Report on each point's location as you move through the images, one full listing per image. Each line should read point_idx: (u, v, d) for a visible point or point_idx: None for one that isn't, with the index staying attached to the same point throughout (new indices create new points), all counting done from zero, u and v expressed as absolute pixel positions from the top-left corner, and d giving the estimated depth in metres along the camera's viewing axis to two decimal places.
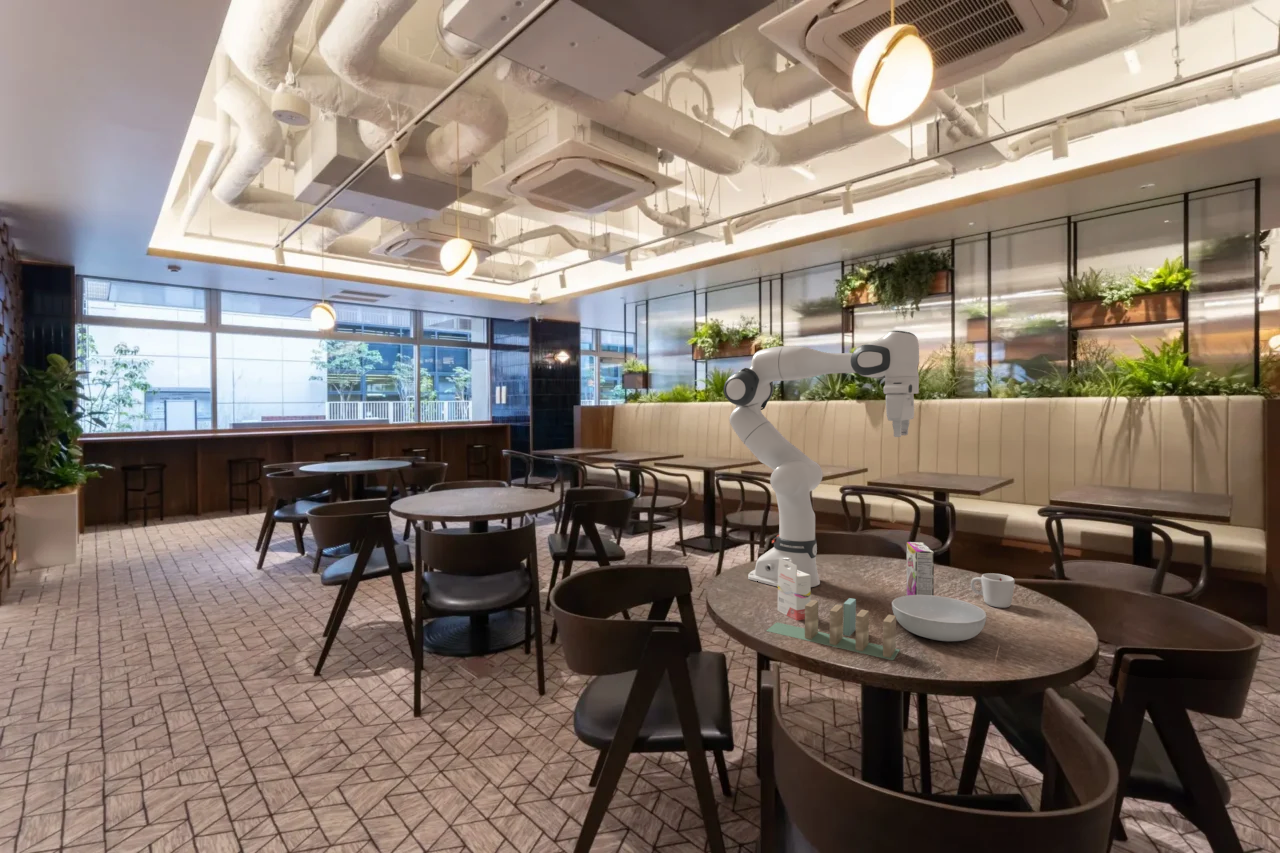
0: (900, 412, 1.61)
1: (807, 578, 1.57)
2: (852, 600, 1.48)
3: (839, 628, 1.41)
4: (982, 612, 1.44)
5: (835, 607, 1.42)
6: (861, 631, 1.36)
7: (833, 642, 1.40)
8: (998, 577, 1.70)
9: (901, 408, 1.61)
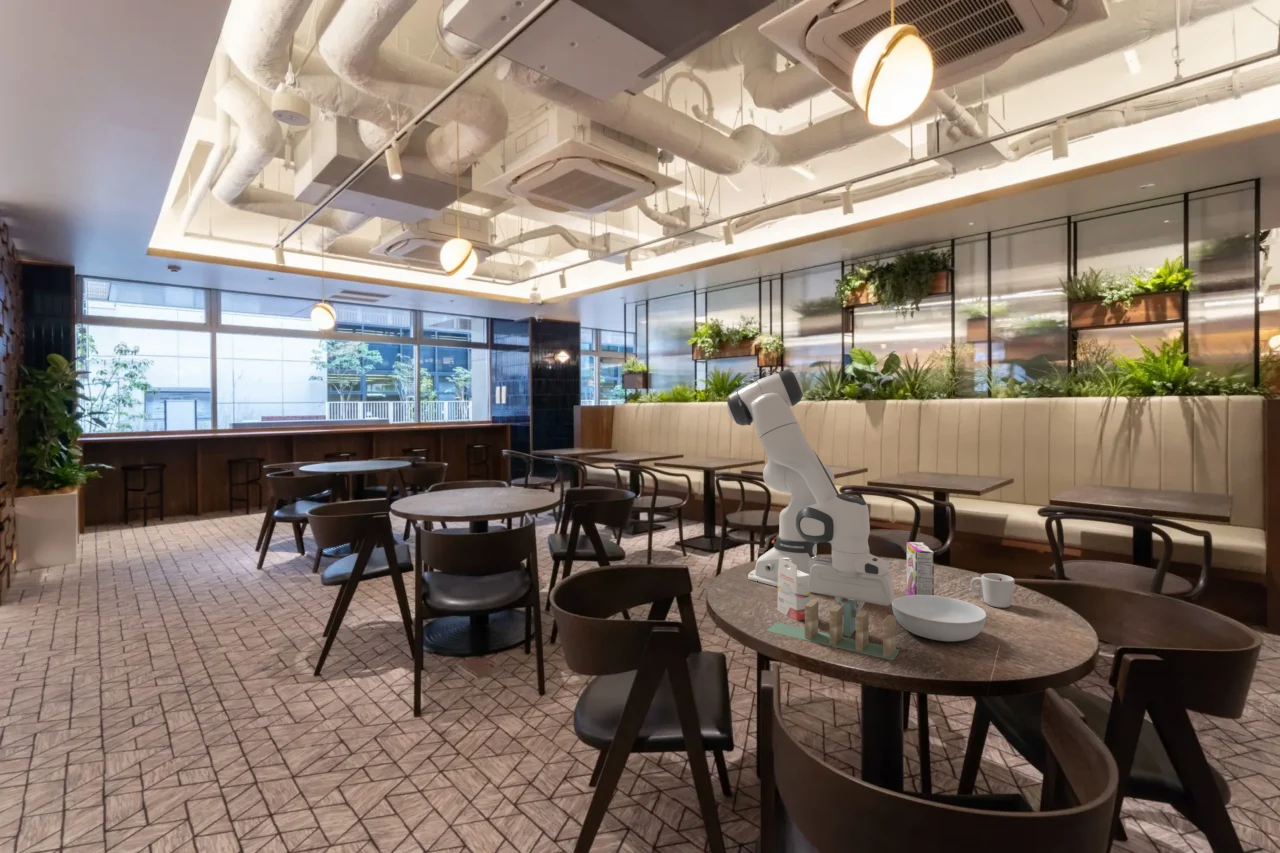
0: None
1: (807, 578, 1.57)
2: (852, 600, 1.48)
3: (839, 628, 1.41)
4: (982, 612, 1.44)
5: (835, 607, 1.42)
6: (861, 631, 1.36)
7: (833, 642, 1.40)
8: (998, 577, 1.70)
9: (893, 588, 1.43)
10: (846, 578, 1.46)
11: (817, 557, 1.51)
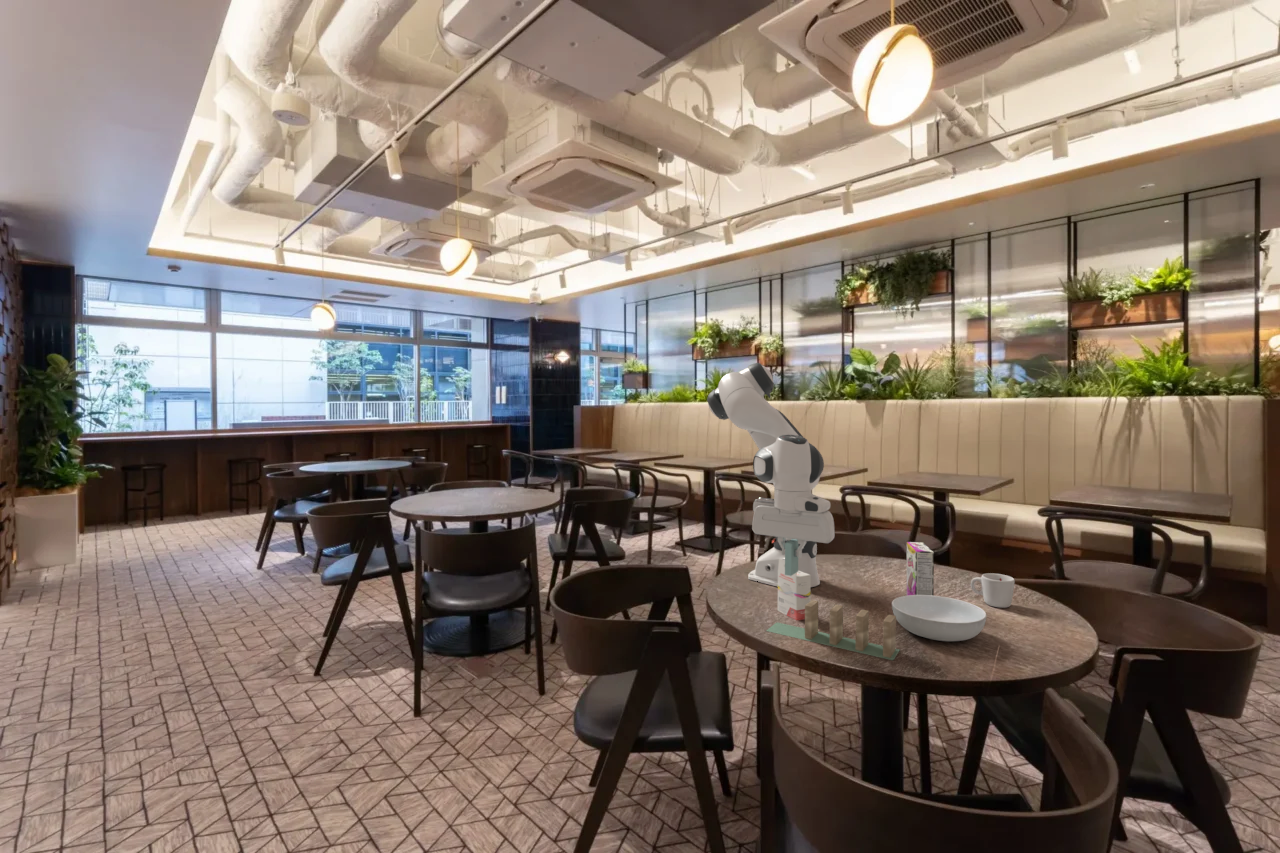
0: (834, 531, 1.44)
1: (807, 578, 1.57)
2: (794, 540, 1.49)
3: (839, 628, 1.41)
4: (982, 612, 1.44)
5: (835, 607, 1.42)
6: (861, 631, 1.36)
7: (833, 642, 1.40)
8: (998, 577, 1.70)
9: None
10: (788, 518, 1.47)
11: (761, 499, 1.52)
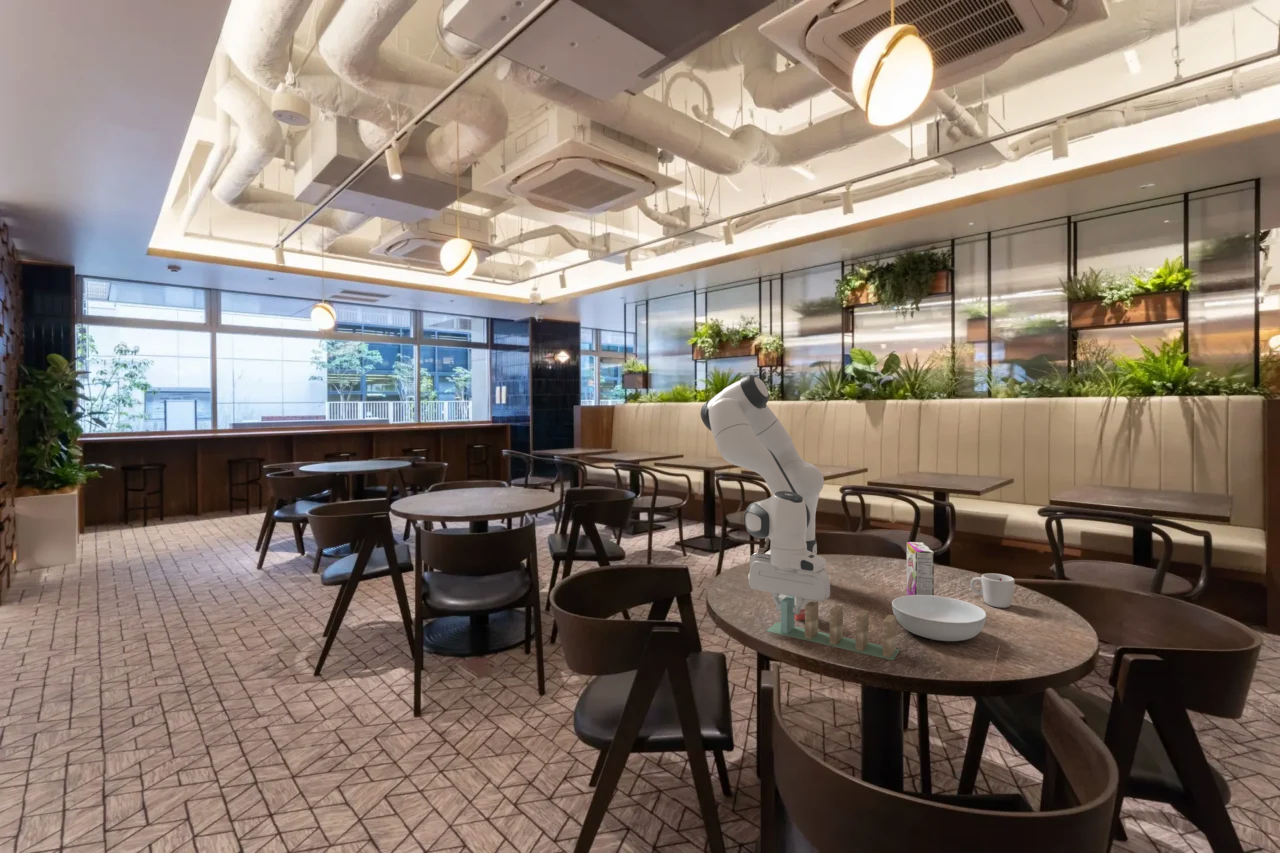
0: None
1: None
2: (790, 597, 1.49)
3: (839, 628, 1.41)
4: (982, 612, 1.44)
5: (835, 607, 1.42)
6: (861, 631, 1.36)
7: (833, 642, 1.40)
8: (998, 577, 1.70)
9: (829, 585, 1.45)
10: (784, 575, 1.48)
11: (757, 554, 1.53)
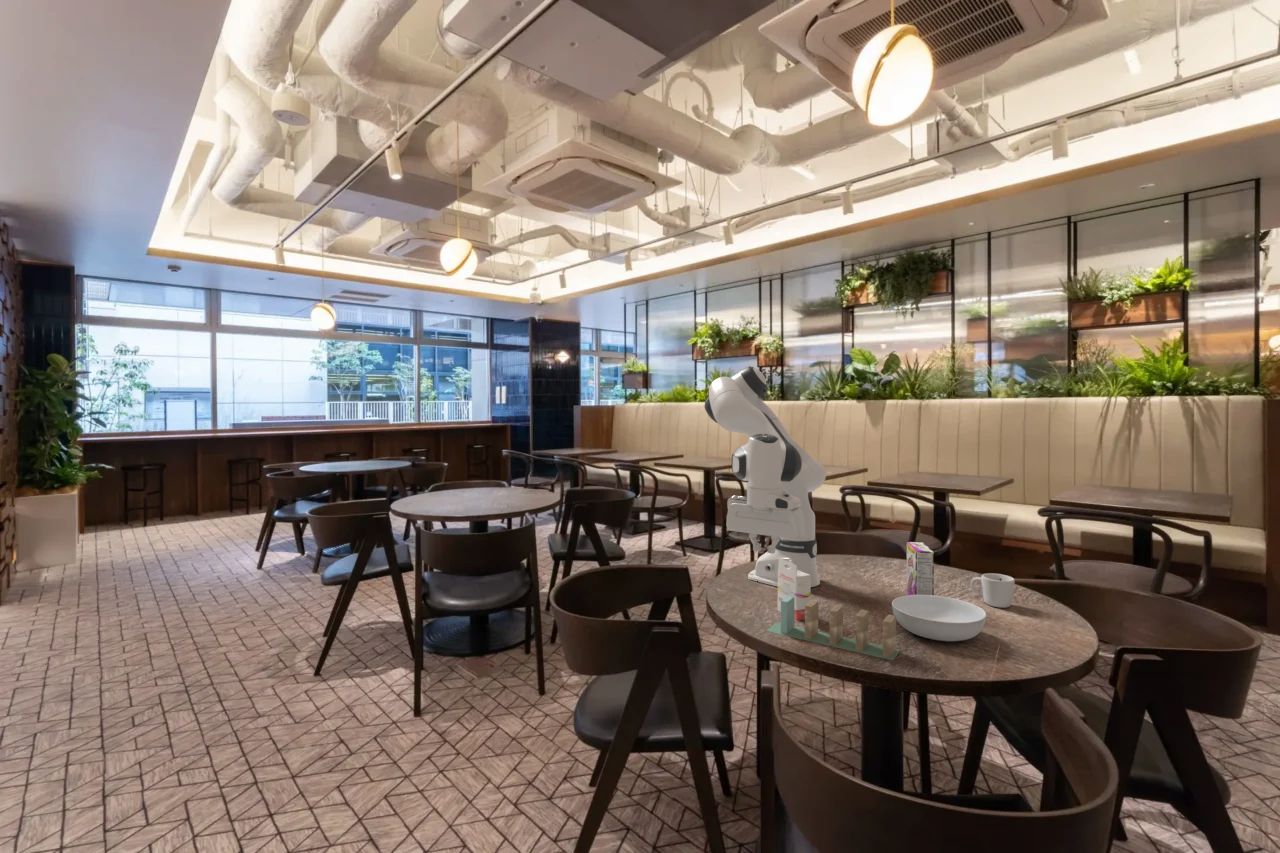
0: (804, 528, 1.47)
1: (807, 578, 1.57)
2: (790, 597, 1.49)
3: (839, 628, 1.41)
4: (982, 612, 1.44)
5: (835, 607, 1.42)
6: (861, 631, 1.36)
7: (833, 642, 1.40)
8: (998, 577, 1.70)
9: (804, 523, 1.48)
10: (760, 515, 1.51)
11: (735, 496, 1.56)
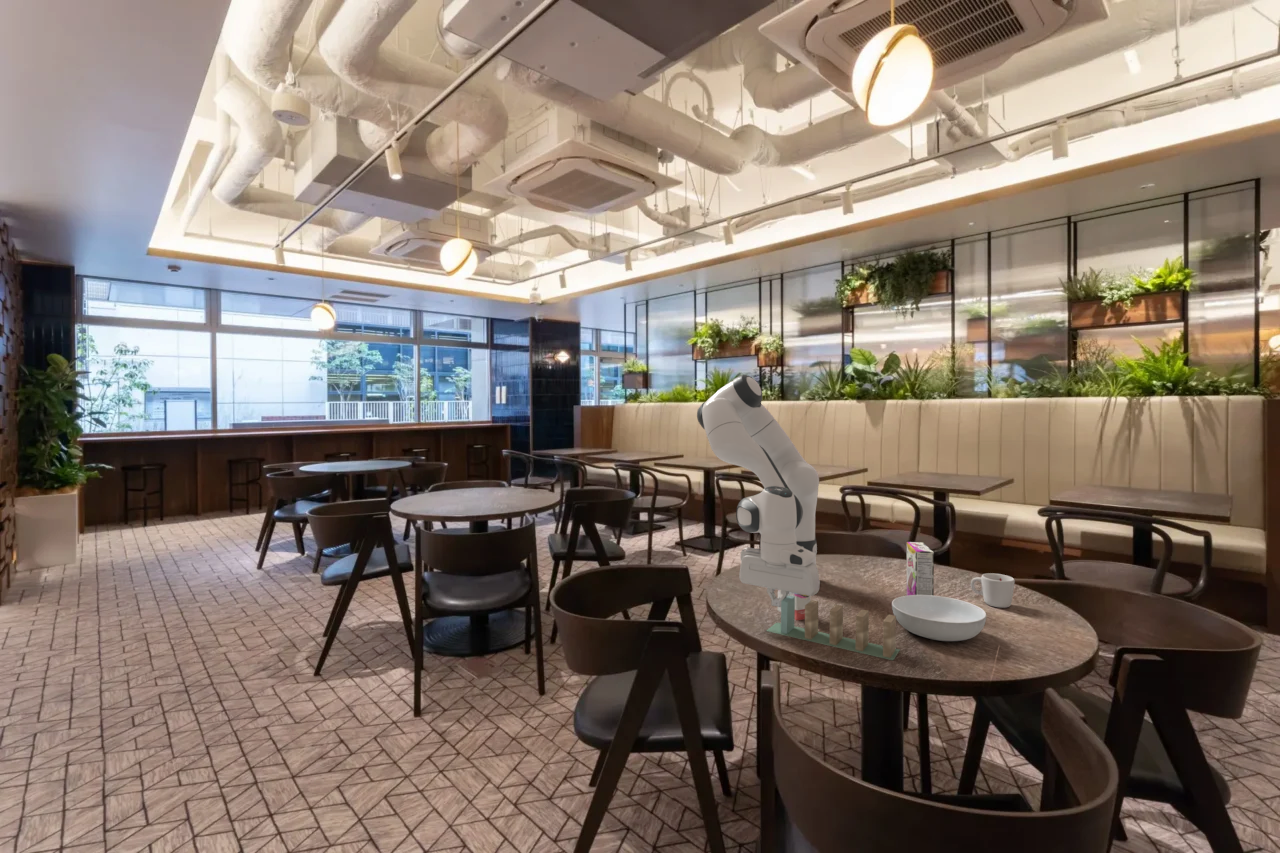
0: None
1: None
2: (791, 598, 1.49)
3: (839, 628, 1.41)
4: (982, 612, 1.44)
5: (835, 607, 1.42)
6: (861, 631, 1.36)
7: (833, 642, 1.40)
8: (998, 577, 1.70)
9: (818, 579, 1.46)
10: (774, 569, 1.49)
11: (748, 548, 1.54)
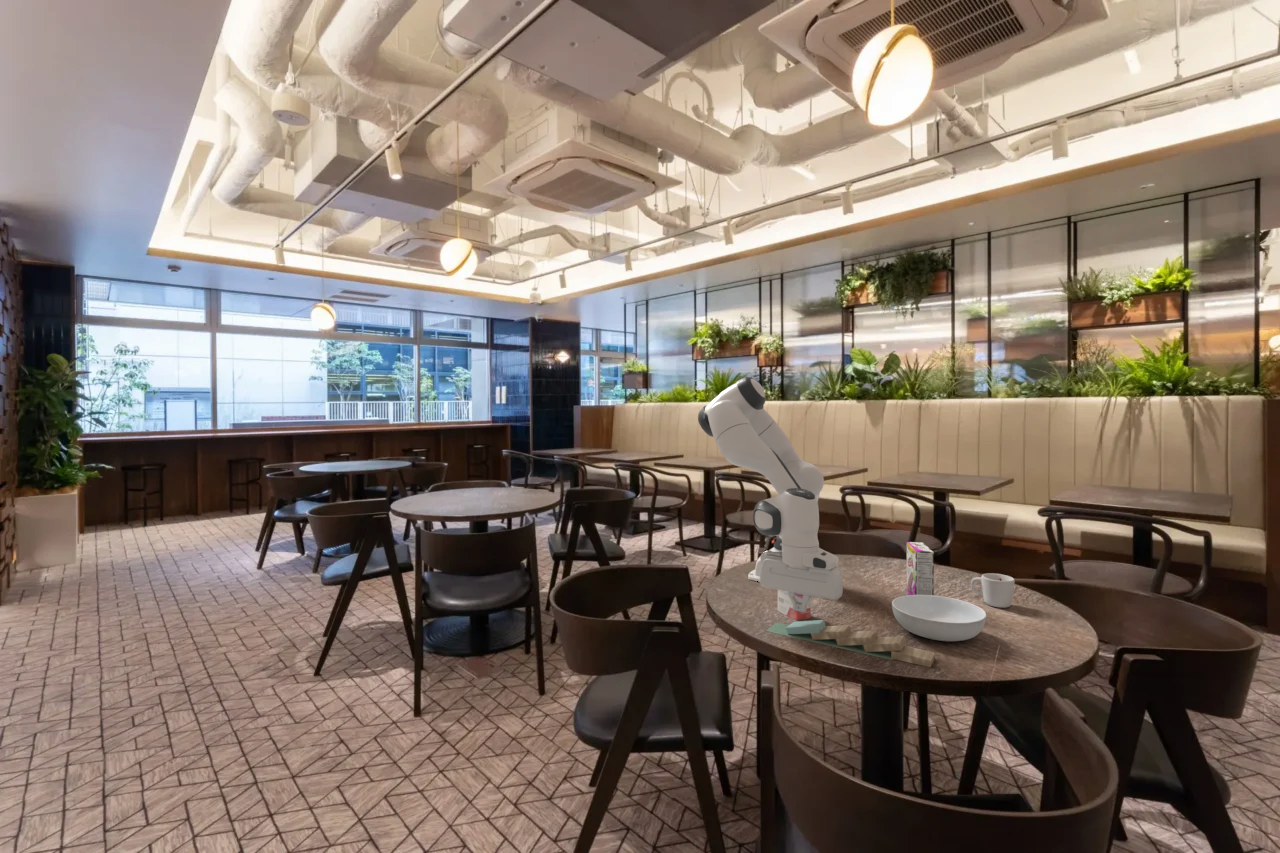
0: (842, 588, 1.43)
1: None
2: (823, 626, 1.45)
3: None
4: (982, 612, 1.44)
5: (873, 635, 1.37)
6: (885, 649, 1.33)
7: (839, 642, 1.39)
8: (998, 577, 1.70)
9: (842, 583, 1.43)
10: (796, 573, 1.46)
11: (768, 552, 1.51)
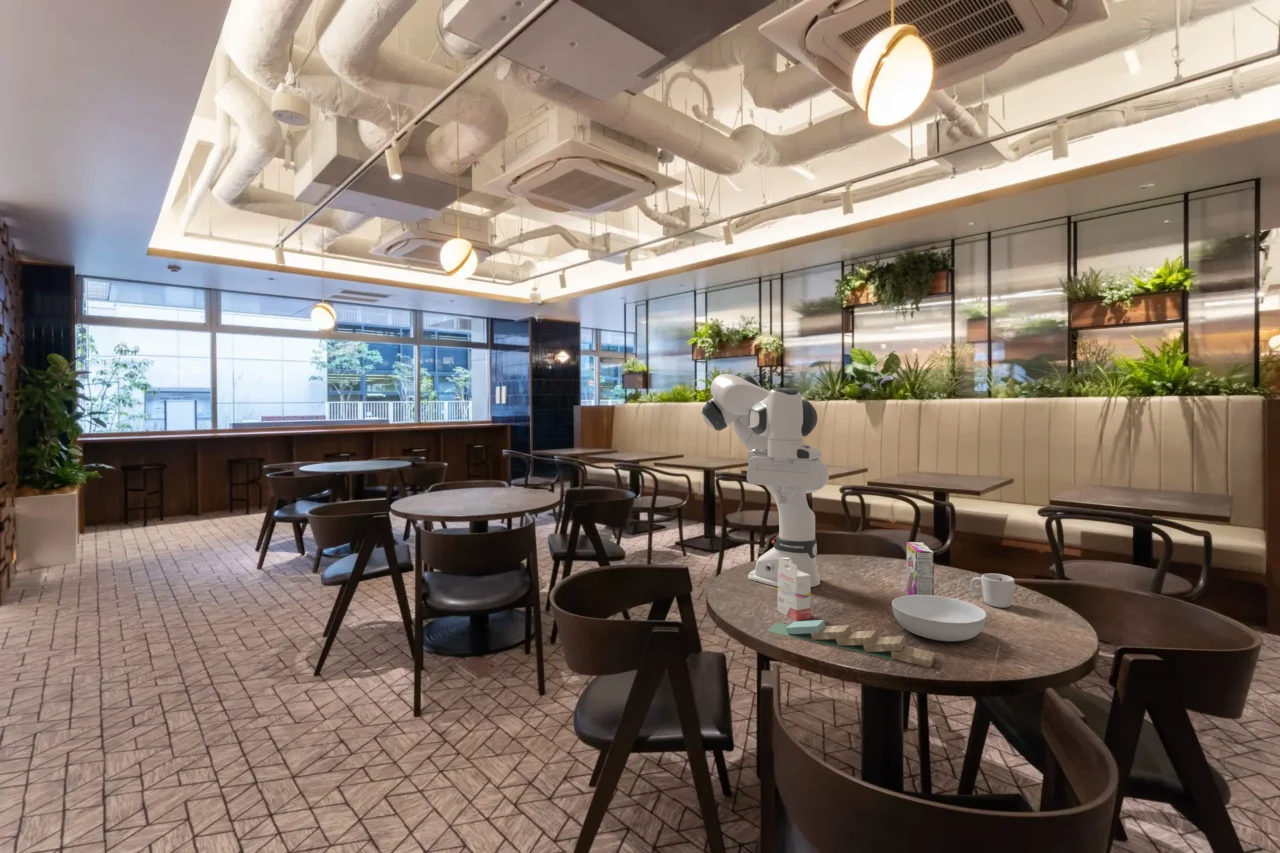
0: (825, 479, 1.49)
1: (807, 578, 1.57)
2: (823, 626, 1.45)
3: None
4: (982, 612, 1.44)
5: (873, 635, 1.37)
6: (885, 649, 1.33)
7: (839, 642, 1.39)
8: (998, 577, 1.70)
9: (825, 474, 1.49)
10: (781, 467, 1.52)
11: (755, 450, 1.57)
